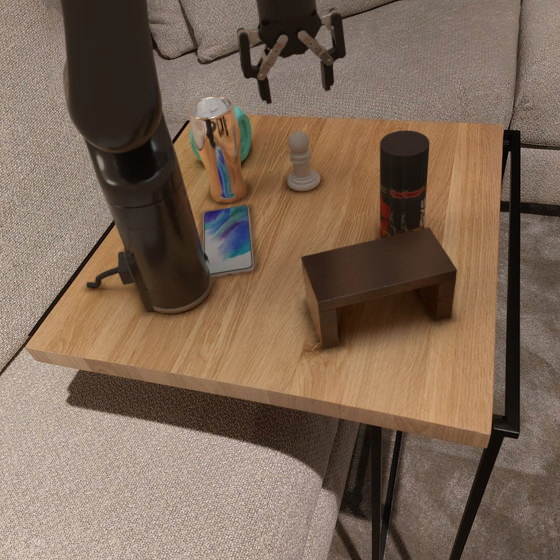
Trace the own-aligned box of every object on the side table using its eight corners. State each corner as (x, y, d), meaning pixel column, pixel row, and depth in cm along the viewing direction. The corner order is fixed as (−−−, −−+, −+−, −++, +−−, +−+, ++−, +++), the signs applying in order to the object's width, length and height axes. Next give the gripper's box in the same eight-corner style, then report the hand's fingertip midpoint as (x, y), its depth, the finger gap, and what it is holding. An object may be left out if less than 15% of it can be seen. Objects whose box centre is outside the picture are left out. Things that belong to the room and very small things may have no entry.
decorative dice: (213, 142, 107) (204, 101, 101) (254, 145, 104) (247, 104, 99) (196, 167, 101) (185, 125, 96) (238, 170, 99) (230, 128, 93)
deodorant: (422, 251, 79) (429, 156, 69) (378, 250, 81) (377, 156, 70) (423, 224, 83) (430, 130, 73) (381, 222, 85) (381, 130, 74)
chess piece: (282, 190, 93) (275, 140, 87) (294, 171, 97) (288, 122, 91) (313, 194, 91) (308, 144, 85) (325, 175, 95) (321, 125, 89)
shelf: (322, 349, 69) (317, 302, 64) (306, 302, 75) (300, 256, 69) (451, 318, 70) (457, 269, 65) (425, 274, 76) (429, 226, 71)
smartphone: (202, 276, 80) (202, 211, 91) (203, 281, 81) (204, 215, 92) (254, 268, 80) (248, 203, 91) (255, 272, 81) (249, 208, 92)
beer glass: (202, 204, 93) (180, 119, 83) (214, 179, 98) (194, 95, 88) (245, 205, 92) (228, 118, 81) (254, 179, 96) (239, 94, 86)
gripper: (330, -47, 75) (338, 73, 87) (222, -24, 75) (244, 94, 86) (346, -30, 70) (352, 96, 81) (230, -6, 69) (252, 118, 80)
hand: (297, 95), depth 83 cm, fingers open, 8 cm apart
